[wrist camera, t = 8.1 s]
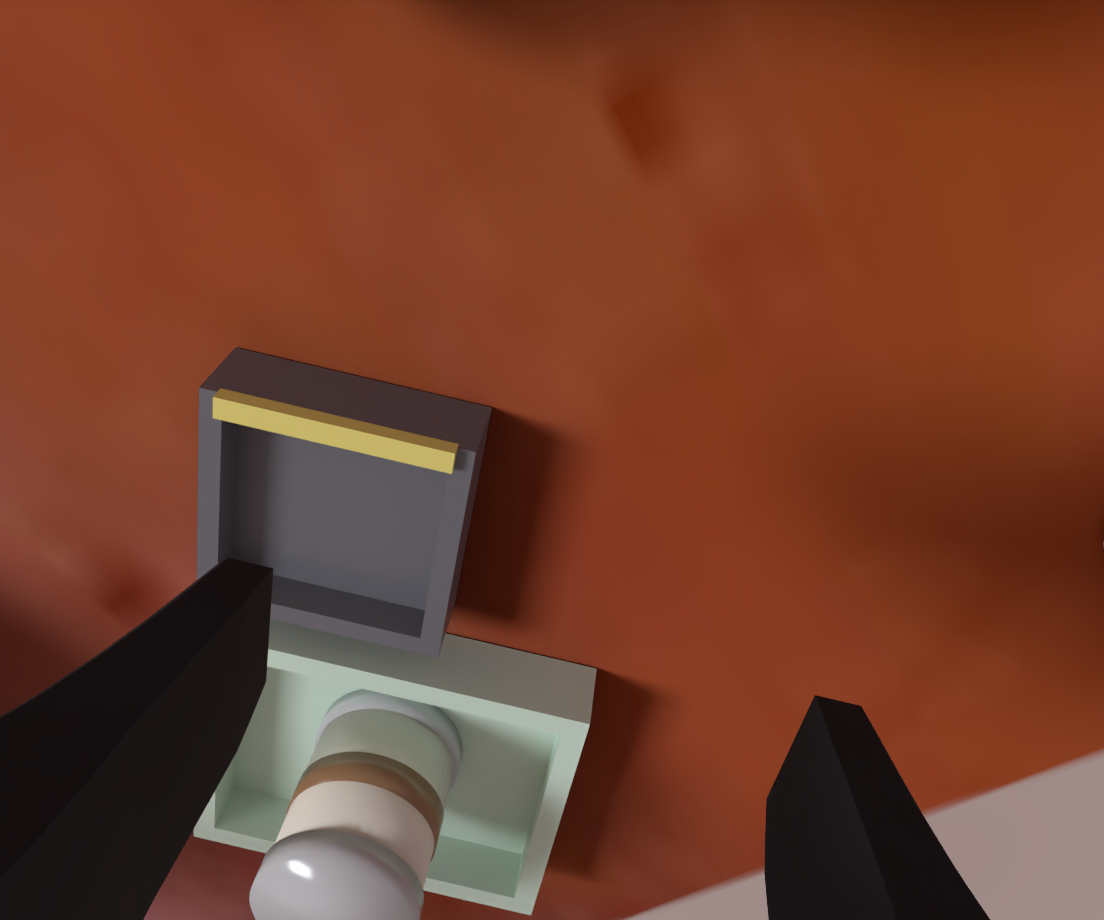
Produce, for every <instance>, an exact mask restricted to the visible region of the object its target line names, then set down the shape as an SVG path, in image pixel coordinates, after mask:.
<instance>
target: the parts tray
mask: <svg viewBox="0 0 1104 920" xmlns="http://www.w3.org/2000/svg"><path fill="white" fill-rule="evenodd" d="M596 671H597V669H596V668H592V667H588V666H583V665H579V664H575V663H570V662H566V661H562V660H558V659H553V658H549V657H545V656H541V655H536V654H532V653H528V652H524V651H519V650H515V649H511V648H506V647H502V646H498V645H494V644H489V643H485V642H481V641H477V640H472V639H468V638H464V637H459V636H455V635H451V634H447V633H446V634H445V637H444V640H443V644H442V647H441V650H440V653H439V656H438V658H435V657H431V656H427V655H422V654H418V653H414V652H409V651H405V650H401V649H397V648H392V647H388V646H384V645H380V644H375V643H371V642H367V641H362V640H358V639H354V638H350V637H345V636H341V635H337V634H333V633H328V632H324V631H320V630H316V629H311V628H307V627H303V626H298V625H294V624H290V623H286V622H281V621H277V620H273V619H270V629H269V645H268V661H267V676H266V683H265V686H264V688H263V690H262V693H261V695H260V698H259V700H258V703H257V705H256V708H255V710H254V713H253V715H252V718H251V720H250V722H249V725H248V727H247V729H246V732H245V734H244V736H243V739H242V741H241V743H240V746H239V748H238V751H237V752H236V754H235V756H234V758H233V760H232V761H231V763H230V765H229V767H228V769H227V771H226V772H225V774H224V776H223V778H222V779H221V781H220V783H219V785H218V787H217V788H216V790H215V792H214V794H213V796H212V797H211V799H210V801H209V803H208V804H207V806H206V808H205V810H204V811H203V813H202V815H201V817H200V819H199V820H198V822H197V824H196V826H195V827H194V837H198V838H202V839H207V840H211V841H215V842H219V843H224V844H228V845H232V846H237V847H241V848H245V849H249V850H254V851H258V852H262V853H267V852H268V850H269V849H270V848H271V847H272V846H273V845H274V844H275V841H276V839H277V837H278V834H279V832H280V830H281V827H282V825H283V823H284V820H285V818H286V812H287V809H288V806H289V803H290V801H291V799H292V796H293V794H294V791H295V789H296V787H297V784H298V782H299V780H300V777H301V776H302V774H303V772H304V771H305V770H306V768H307V766H308V763H309V761H310V759H311V756H312V754H313V752H314V749H315V739H316V736H317V733H318V730H319V728H320V726H321V723H322V721H323V719H324V716H325V714H326V712H327V710H328V709H329V707H330V706H331V705H332V704H333V703H334V702H335V701H336V700H337V699H339V698H340V697H342V696H344V695H345V694H347V693H350V692H352V691H356V690H359V689H366V690H370V691H374V692H378V693H383V694H387V695H391V696H395V697H400V698H404V699H408V700H413V701H417V702H421V703H425V704H430V705H434V706H437V707H438V708H439V709H441V710H442V711H443V712H444V713H445V714H446V715H447V716H448V717H449V718H450V719H451V721H452V722H453V723H454V725H455V726H456V728H457V730H458V732H459V734H460V737H461V741H462V747H463V751H462V758H461V762H460V766H459V770H458V773H457V777H456V781H455V783H454V785H453V787H452V788H451V790H450V791H449V793H448V797H447V801H446V805H445V809H444V818H443V824H442V827H441V831H440V835H439V839H438V843H437V847H436V850H435V854H434V857H433V859H432V861H431V862H430V866H429V869H428V873H427V877H426V881H425V885H424V888H423V890H424V891H429V892H433V893H437V894H441V895H446V896H450V897H454V898H458V899H463V900H467V901H471V902H475V903H480V904H484V905H488V906H493V907H497V908H501V909H505V910H510V911H514V912H518V913H522V914H527V915H531V914H532V911H533V907H534V904H535V901H536V898H537V894H538V891H539V888H540V885H541V881H542V878H543V875H544V872H545V869H546V865H547V862H548V859H549V856H550V852H551V849H552V846H553V843H554V839H555V836H556V833H557V830H558V826H559V823H560V820H561V817H562V813H563V810H564V807H565V804H566V800H567V797H568V794H569V791H570V788H571V784H572V781H573V778H574V775H575V771H576V768H577V765H578V762H579V758H580V755H581V752H582V749H583V745H584V742H585V739H586V736H587V732H588V729H589V726H590V720H591V712H592V704H593V696H594V687H595V679H596Z"/></svg>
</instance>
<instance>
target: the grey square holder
mask: <svg viewBox="0 0 1104 920" xmlns="http://www.w3.org/2000/svg"><path fill="white" fill-rule="evenodd" d="M491 411H492V408H491V407H487V406H483V405H479V404H474V403H470V402H466V401H462V400H457V399H453V398H449V397H445V396H440V395H436V394H432V393H427V392H423V391H419V390H415V389H410V388H406V387H402V386H398V385H393V384H389V383H385V382H380V381H376V380H372V379H368V378H363V377H359V376H355V375H351V374H346V373H342V372H338V371H333V370H329V369H325V368H321V367H316V366H312V365H308V364H304V363H299V362H295V361H291V360H286V359H282V358H278V357H274V356H269V355H265V354H261V353H257V352H252V351H248V350H244V349H239V348H235V349H234V350H233V351H232V352H231V353H230V354H229V355H228V356H227V358H226V359H225V360H224V361H223V362H222V363H221V364H220V365H219V366H218V367H217V369H216V370H215V371H214V372H213V373H212V374H211V375H210V376H209V377H208V378H207V380H206V381H205V382H204V383H203V384H202V385H201V386H200V387H199V445H198V525H197V580H198V579H199V578H200V577H202V576H203V575H204V574H205V573H207V572H208V571H209V570H210V569H212V568H213V567H214V566H215V565H217V564H218V563H219V562H221V561H223V560H225V559H226V558H231V559H236V560H240V561H244V562H248V563H253V564H257V565H261V566H265V567H270V568H273V582H272V598H271V614H270V619H273V620H277V621H281V622H286V623H290V624H294V625H298V626H303V627H307V628H311V629H316V630H320V631H324V632H328V633H333V634H337V635H341V636H345V637H350V638H354V639H358V640H362V641H367V642H371V643H375V644H380V645H384V646H388V647H392V648H397V649H401V650H405V651H409V652H414V653H418V654H422V655H427V656H431V657H435V658H438V656H439V653H440V650H441V647H442V644H443V640H444V637H445V634H446V631H447V628H448V625H449V621H450V618H451V615H452V612H453V609H454V606H455V601H456V595H457V590H458V585H459V580H460V574H461V569H462V564H463V558H464V553H465V548H466V543H467V537H468V532H469V527H470V522H471V516H472V511H473V506H474V501H475V495H476V490H477V485H478V480H479V474H480V469H481V464H482V459H483V453H484V448H485V443H486V438H487V432H488V427H489V422H490V416H491Z"/></svg>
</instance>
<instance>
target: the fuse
mask: <svg viewBox="0 0 1104 920" xmlns="http://www.w3.org/2000/svg"><path fill="white" fill-rule="evenodd" d="M462 751H463V747H462V741H461V737H460V734H459V732H458V730H457V728H456V726H455V725H454V723H453V722H452V721H451V719H450V718H449V717H448V716H447V715H446V714H445V713H444V712H443V711H442V710H441V709H439V708H438V707H437V706H434V705H430V704H425V703H421V702H417V701H413V700H408V699H404V698H400V697H395V696H391V695H387V694H383V693H378V692H374V691H370V690H366V689H359V690H356V691H352V692H350V693H347V694H345V695H344V696H342V697H340V698H339V699H337V700H336V701H335V702H334V703H333V704H332V705H331V706H330V707H329V709H328V710H327V712H326V714H325V716H324V719H323V721H322V723H321V726H320V728H319V730H318V733H317V736H316V739H315V749H314V752H313V754H312V756H311V759H310V761H309V763H308V766H307V768H306V770H305V771H304V772H303V774H302V776H301V777H300V780H299V782H298V784H297V787H296V789H295V791H294V794H293V796H292V799H291V801H290V803H289V806H288V809H287V812H286V818H285V820H284V823H283V825H282V827H281V830H280V832H279V834H278V837H277V839H276V841H275V844H274V845H273V846H272V847H271V848H270V849H269V850H268V852H267V853H266V855H265V857H264V859H263V861H262V864H261V866H260V868H259V871H258V873H257V875H256V878H255V880H254V882H253V885H252V887H251V890H250V897H249V899H250V907H251V910H252V913H253V915H254V917H255V919H256V920H420V916H421V912H422V908H423V905H424V893H423V888H424V885H425V881H426V877H427V873H428V869H429V866H430V862H431V861H432V859H433V857H434V854H435V850H436V847H437V843H438V839H439V835H440V831H441V827H442V824H443V818H444V809H445V805H446V801H447V797H448V793H449V791H450V790H451V788H452V787H453V785H454V783H455V781H456V777H457V773H458V770H459V766H460V762H461V758H462Z"/></svg>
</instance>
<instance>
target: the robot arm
mask: <svg viewBox="0 0 1104 920" xmlns="http://www.w3.org/2000/svg"><path fill="white" fill-rule="evenodd" d="M1103 546H1104V543H1103ZM272 582H273V568H270V567H265V566H261V565H257V564H253V563H248V562H244V561H240V560H236V559H231V558H226V559H225V560H223V561H221V562H219V563H218V564H217V565H215V566H214V567H213V568H212V569H210V570H209V571H208V572H207V573H205V574H204V575H203V576H202V577H200V578H199V579H198V580H197V581H195V582H194V583H193V584H192V585H190V586H189V587H188V588H187V589H185V590H184V591H183V592H182V593H180V594H179V595H178V596H176V597H175V598H174V599H173V600H171V601H170V602H169V603H167V604H166V605H165V606H163V607H162V608H161V609H160V610H158V611H157V612H156V613H154V614H153V615H152V616H150V617H149V618H148V619H146V620H145V621H144V622H142V623H141V624H140V625H138V626H137V627H135V628H134V629H133V630H131V631H130V632H129V633H127V634H126V635H124V636H123V637H122V638H120V639H119V640H117V641H116V642H115V643H113V644H112V645H111V646H109V647H108V648H106V649H105V650H104V651H102V652H101V653H99V654H98V655H97V656H95V657H94V658H92V659H91V660H89V661H88V662H86V663H85V664H83V665H82V666H80V667H79V668H77V669H75V670H74V671H72V672H71V673H69V674H68V675H66V676H65V677H63V678H62V679H60V680H59V681H57V682H56V683H54V684H52V685H51V686H49V687H48V688H46V689H45V690H43V691H42V692H40V693H39V694H37V695H35V696H34V697H32V698H31V699H29V700H27V701H26V702H24V703H22V704H21V705H19V706H17V707H16V708H14V709H12V710H11V711H9V712H7V713H6V714H4V715H2V716H0V920H143V919H144V917H145V915H146V913H147V911H148V909H149V907H150V905H151V903H152V902H153V900H154V898H155V896H156V894H157V893H158V891H159V889H160V887H161V886H162V884H163V882H164V880H165V878H166V877H167V875H168V873H169V871H170V870H171V868H172V866H173V864H174V863H175V861H176V859H177V857H178V856H179V854H180V852H181V850H182V848H183V847H184V845H185V843H186V841H187V840H188V838H189V836H190V834H191V833H192V831H193V829H194V827H195V826H196V824H197V822H198V820H199V819H200V817H201V815H202V813H203V811H204V810H205V808H206V806H207V804H208V803H209V801H210V799H211V797H212V796H213V794H214V792H215V790H216V788H217V787H218V785H219V783H220V781H221V779H222V778H223V776H224V774H225V772H226V771H227V769H228V767H229V765H230V763H231V761H232V760H233V758H234V756H235V754H236V752H237V751H238V748H239V746H240V743H241V741H242V739H243V736H244V734H245V732H246V729H247V727H248V725H249V722H250V720H251V718H252V715H253V713H254V710H255V708H256V705H257V703H258V700H259V698H260V695H261V693H262V690H263V688H264V686H265V683H266V676H267V661H268V645H269V629H270V614H271V598H272ZM765 883H766V895H767V906H768V916H769V920H990V919H989V918H988V916H987V914H986V913H985V911H984V910H983V909H982V907H981V906H980V904H979V903H978V901H977V900H976V898H975V897H974V895H973V894H972V892H971V891H970V889H969V888H968V887H967V885H966V884H965V882H964V881H963V879H962V878H961V876H960V874H959V873H958V871H957V870H956V868H955V867H954V865H953V864H952V862H951V860H950V859H949V857H948V855H947V854H946V852H945V850H944V849H943V847H942V846H941V844H940V842H939V841H938V839H937V837H936V836H935V834H934V833H933V831H932V829H931V828H930V826H929V824H928V823H927V821H926V819H925V818H924V816H923V814H922V813H921V811H920V809H919V807H918V806H917V804H916V802H915V801H914V799H913V797H912V795H911V794H910V792H909V790H908V788H907V787H906V785H905V783H904V781H903V779H902V778H901V776H900V774H899V772H898V771H897V769H896V767H895V765H894V764H893V762H892V760H891V758H890V756H889V755H888V753H887V751H886V749H885V747H884V746H883V744H882V742H881V740H880V738H879V737H878V735H877V733H876V731H875V730H874V728H873V726H872V724H871V722H870V721H869V719H868V717H867V716H866V714H865V712H864V710H863V709H862V707H861V706H859V705H854V704H850V703H846V702H842V701H837V700H833V699H829V698H825V697H820V696H816V695H815V696H814V699H813V701H812V703H811V705H810V707H809V709H808V711H807V714H806V716H805V718H804V720H803V722H802V724H801V726H800V729H799V731H798V733H797V735H796V737H795V739H794V741H793V744H792V746H791V748H790V750H789V752H788V754H787V756H786V759H785V761H784V763H783V765H782V767H781V769H780V771H779V774H778V776H777V778H776V780H775V782H774V784H773V786H772V789H771V791H770V793H769V795H768V797H767V805H766V832H765Z"/></svg>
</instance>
